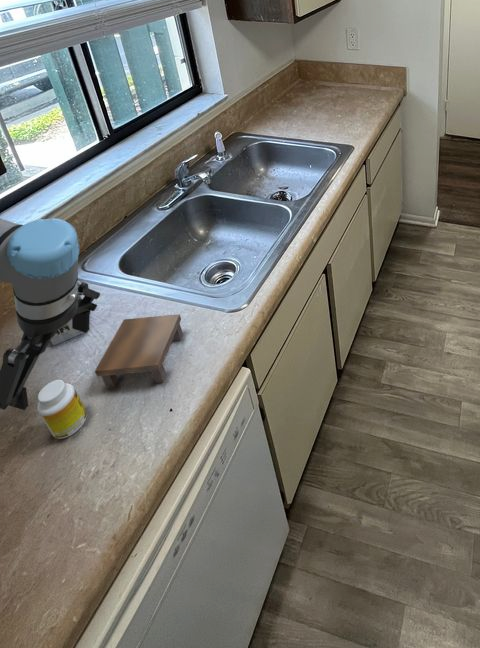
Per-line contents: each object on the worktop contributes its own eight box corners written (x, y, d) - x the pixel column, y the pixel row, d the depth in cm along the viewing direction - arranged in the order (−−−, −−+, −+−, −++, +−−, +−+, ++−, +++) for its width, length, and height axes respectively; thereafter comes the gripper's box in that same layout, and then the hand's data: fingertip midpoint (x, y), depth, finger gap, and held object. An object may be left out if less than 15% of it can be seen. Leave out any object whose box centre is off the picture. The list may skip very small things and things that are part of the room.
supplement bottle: (94, 416, 84) (76, 383, 80) (63, 446, 79) (42, 412, 75) (77, 403, 86) (59, 370, 82) (46, 431, 82) (25, 397, 77)
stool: (103, 390, 88) (94, 371, 86) (131, 337, 99) (123, 319, 97) (165, 384, 89) (157, 365, 87) (185, 332, 100) (179, 314, 98)
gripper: (-3, 391, 57) (10, 452, 68) (125, 245, 79) (119, 309, 89) (-61, 372, 56) (-39, 437, 67) (84, 230, 78) (83, 296, 89)
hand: (51, 364), depth 78 cm, fingers open, 13 cm apart
